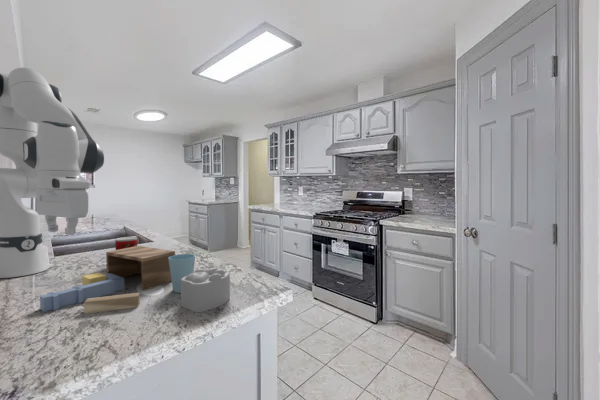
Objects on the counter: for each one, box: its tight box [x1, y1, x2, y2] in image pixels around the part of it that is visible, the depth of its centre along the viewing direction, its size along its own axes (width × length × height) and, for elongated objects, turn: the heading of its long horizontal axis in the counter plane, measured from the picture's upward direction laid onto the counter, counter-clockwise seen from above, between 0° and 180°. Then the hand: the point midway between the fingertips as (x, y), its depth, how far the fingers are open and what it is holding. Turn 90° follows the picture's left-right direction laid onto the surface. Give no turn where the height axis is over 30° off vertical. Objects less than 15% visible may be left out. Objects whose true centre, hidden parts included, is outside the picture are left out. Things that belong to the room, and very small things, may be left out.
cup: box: [168, 253, 196, 294], centre depth 89 cm, size 8×8×10 cm
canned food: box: [114, 236, 138, 250], centre depth 119 cm, size 8×8×11 cm
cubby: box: [105, 245, 176, 291], centre depth 98 cm, size 20×12×10 cm, turn 62°
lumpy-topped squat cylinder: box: [180, 267, 231, 313], centre depth 80 cm, size 10×13×9 cm
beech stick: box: [83, 292, 141, 314], centre depth 76 cm, size 3×12×3 cm, turn 110°
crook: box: [39, 273, 125, 313], centre depth 84 cm, size 10×19×4 cm, turn 146°
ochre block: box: [81, 272, 106, 286], centre depth 90 cm, size 6×4×4 cm
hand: (61, 232), depth 78 cm, fingers open, 8 cm apart
